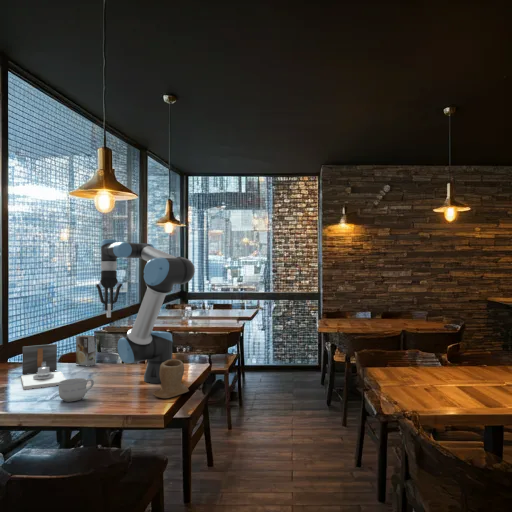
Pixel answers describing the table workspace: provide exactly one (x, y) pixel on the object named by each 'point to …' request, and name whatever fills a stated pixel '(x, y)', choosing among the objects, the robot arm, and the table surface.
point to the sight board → (39, 358)
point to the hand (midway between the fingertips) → (108, 317)
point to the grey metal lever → (43, 372)
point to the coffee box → (86, 350)
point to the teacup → (74, 389)
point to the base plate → (41, 380)
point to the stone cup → (171, 379)
